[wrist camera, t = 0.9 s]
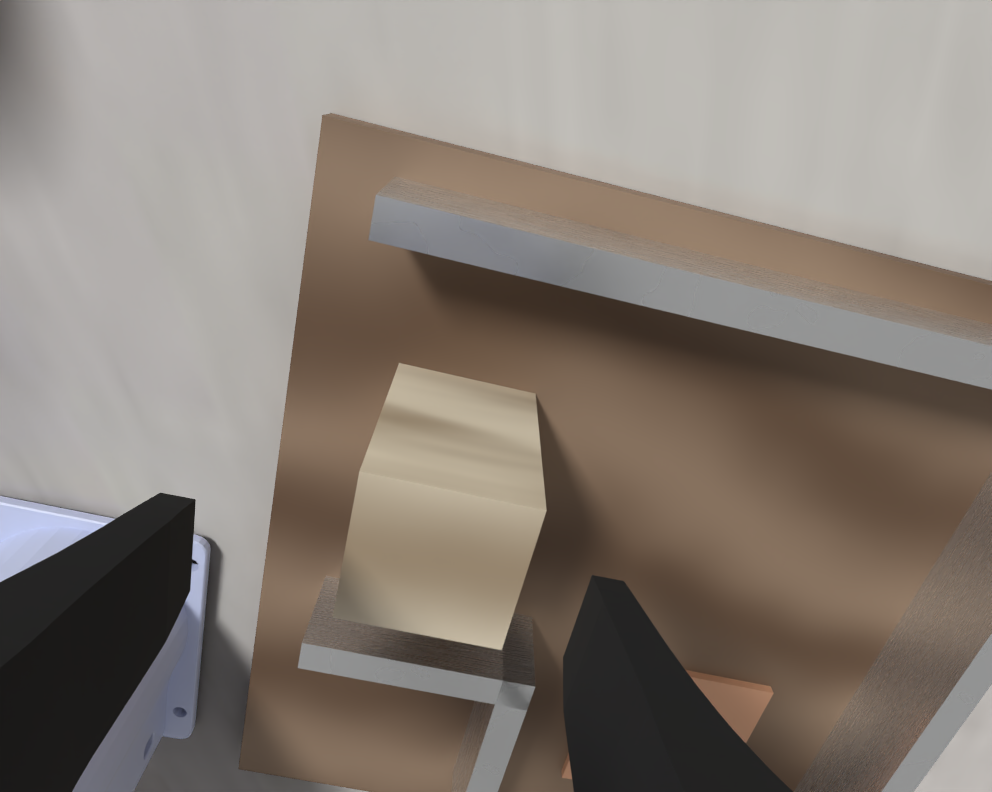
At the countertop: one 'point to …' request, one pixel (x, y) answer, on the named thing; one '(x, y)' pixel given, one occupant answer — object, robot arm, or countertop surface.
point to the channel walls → (747, 306)
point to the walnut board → (610, 465)
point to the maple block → (445, 510)
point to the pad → (726, 704)
